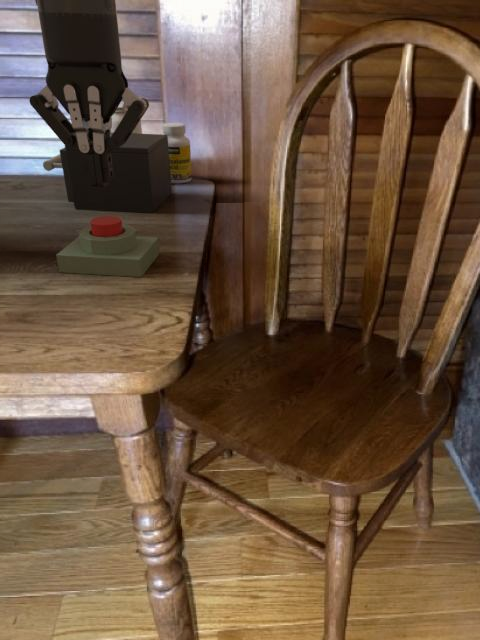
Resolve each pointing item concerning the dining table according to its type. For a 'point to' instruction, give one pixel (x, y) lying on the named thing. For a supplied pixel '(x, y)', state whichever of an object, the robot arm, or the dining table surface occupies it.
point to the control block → (109, 254)
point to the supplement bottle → (178, 152)
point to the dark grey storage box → (126, 176)
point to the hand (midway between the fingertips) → (100, 185)
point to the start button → (106, 226)
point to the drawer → (61, 162)
